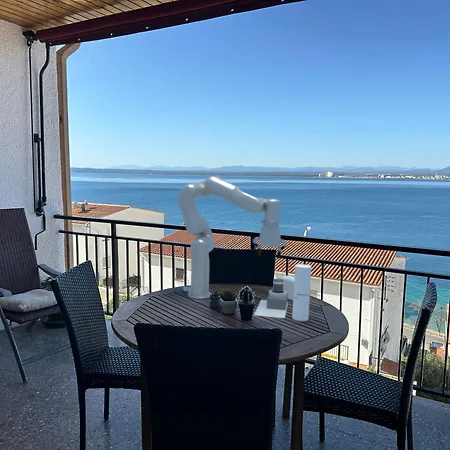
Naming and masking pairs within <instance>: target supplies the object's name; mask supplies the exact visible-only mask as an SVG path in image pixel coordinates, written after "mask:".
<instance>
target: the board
mask: <svg viewBox="0 0 450 450" xmlns="http://www.w3.org/2000/svg"><path fill="white" fill-rule="evenodd" d="M288 307H289V301H287V306H286V310H278V309H268V308H267V299H261V300H260V301H259V303H258V306H257V308H256V310H255V311H254V313H253V315H254V316H259V317H269V318H279V319H285V317H286V314H287V309H288Z"/></svg>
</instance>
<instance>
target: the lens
mask: <svg viewBox="0 0 450 450" xmlns="http://www.w3.org/2000/svg"><path fill="white" fill-rule="evenodd" d="M272 280H273V281H272V282H273V284H272V289H273V292H274V293H283V283H284V280H283V279H282V278H273V279H272Z"/></svg>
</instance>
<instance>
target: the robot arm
mask: <svg viewBox="0 0 450 450" xmlns="http://www.w3.org/2000/svg"><path fill="white" fill-rule="evenodd" d="M212 195H215V196H218V197H220V198H221V199H224V200H226V201H228V202H229V203H231V204H233V205H235V206H237V207H238V208H240V209H243V210H245V211H247V212H249V213H252V214H259V213H264V217H263V218H264V219H263V220H260V224H263V225H262V226H261V228H260V232H259V236H257V237H256V238H253V239H252V242H253V245H254V246H255V248H256V249H257V252H256V253H257V254H256V255H257V258H260V257H261V253H262V247H269V248H276V249H277V257H276V259H277V260H279V259H280V258H281V255H282V250H284V249H285V248H286V246H287V245H288V242H287V241H285V240H283V239H282V238H281V227H280V226H279V225H280V215H281V205H282V204H281V200H279V199H274V198H269V199H268V198H264V197H255V196H252V195H250V194H248V193H246V192H244V191H242V189H240V188H239V187H238V186H237V185H235V184H233V183H230V182H228V181H226V180H224V179H223V178H222V177H220V176H219V175H211V176H208V177H206V179H205V180H203V181H200V182H198V183H187V184H185V185H184V186H183V187H182V188H181V189H180V191H179V193H178V195H177V203H178V205H179V210H180V212H181V215H182V219H183V222H184V225H185V229H186V231H187V233H188V234H189V235H191V236H194V237H195V238H194V239H193V240H192V242H191V243H190V257H191V258H190V259H191V260H190V261H191V264H190V265H191V267H190V268H191V269H190V271H191V272H190V286H183V288H182V289H183V292H188V293H187V297H189V298H191V299H198V300H204V299H205V300H206V299H209V298H211V297H210V295H211V296H212V293H211V292H210V291H209V285H210V257H209V253H211V252H212V250H213V249H214V248H215V239H214V236H213V232H212V229H211V227H210V224H209V220H207V219H206V218H205V217H204V216H200V212H199V211H198V207H197V205H196V204H195V200H200V199H205V198H207V197H210V196H212ZM257 241H258V242H259V244H258V243H257ZM281 244H283V245H282V246H280V245H281Z"/></svg>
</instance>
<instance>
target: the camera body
mask: <svg viewBox="0 0 450 450" xmlns="http://www.w3.org/2000/svg"><path fill="white" fill-rule="evenodd" d="M266 300H267V308H268V309H278V310H286V306H287V302H289V301H288V300H289V299H288V293H287V292H286V291H285V290H283V293H274V292H273V288H272V289H269V291H268V296H267V297H266ZM287 307H288V306H287ZM286 311H287V310H286Z"/></svg>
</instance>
